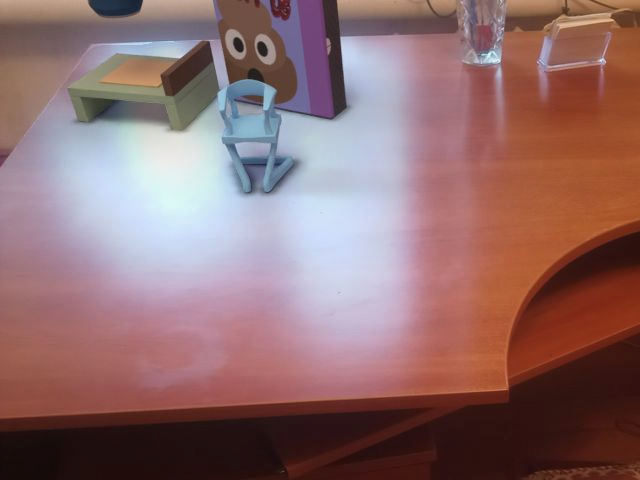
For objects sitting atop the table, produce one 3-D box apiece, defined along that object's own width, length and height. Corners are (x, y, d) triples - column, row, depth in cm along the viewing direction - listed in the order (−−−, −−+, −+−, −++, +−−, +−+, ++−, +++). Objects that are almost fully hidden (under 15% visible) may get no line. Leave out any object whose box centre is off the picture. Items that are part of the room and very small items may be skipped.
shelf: (78, 121, 106) (59, 66, 101) (125, 84, 117) (110, 32, 111) (182, 130, 105) (168, 75, 99) (220, 92, 115) (209, 40, 110)
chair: (226, 193, 92) (205, 101, 84) (236, 162, 98) (218, 73, 90) (287, 192, 92) (273, 100, 84) (294, 161, 98) (281, 73, 90)
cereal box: (232, 100, 113) (198, -75, 97) (249, 88, 116) (219, -82, 100) (331, 119, 109) (312, -60, 93) (346, 107, 112) (330, -68, 96)
